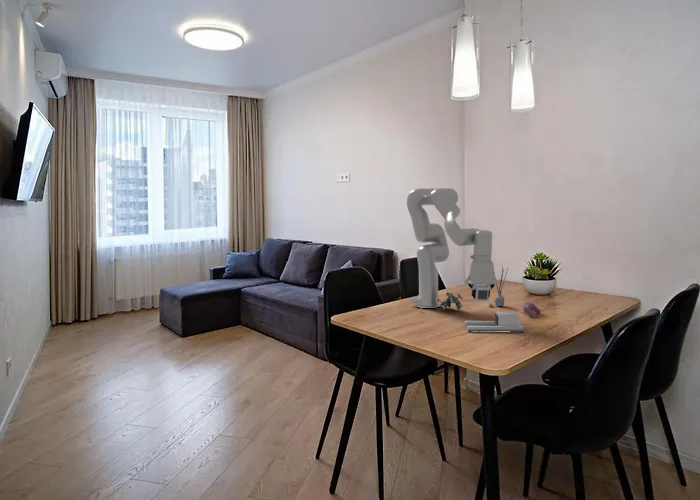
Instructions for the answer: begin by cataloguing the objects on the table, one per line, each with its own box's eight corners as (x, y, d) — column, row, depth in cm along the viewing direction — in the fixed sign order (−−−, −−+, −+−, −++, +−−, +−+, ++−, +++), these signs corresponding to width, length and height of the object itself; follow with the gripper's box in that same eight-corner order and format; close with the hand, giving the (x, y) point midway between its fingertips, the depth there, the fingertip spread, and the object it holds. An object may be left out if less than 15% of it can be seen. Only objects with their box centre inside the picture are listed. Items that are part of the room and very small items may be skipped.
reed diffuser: (504, 304, 229) (505, 265, 226) (512, 307, 222) (512, 267, 220) (486, 305, 226) (486, 266, 224) (493, 309, 220) (494, 268, 217)
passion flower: (458, 322, 218) (467, 305, 210) (437, 319, 216) (445, 302, 209) (454, 304, 226) (463, 288, 219) (434, 301, 225) (442, 285, 217)
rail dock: (468, 332, 183) (468, 315, 182) (464, 325, 193) (464, 309, 192) (523, 332, 181) (524, 315, 180) (517, 325, 191) (517, 309, 190)
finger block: (473, 296, 205) (473, 283, 204) (484, 296, 204) (485, 284, 203) (476, 301, 196) (477, 288, 196) (488, 301, 196) (488, 288, 195)
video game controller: (532, 315, 212) (526, 301, 213) (542, 312, 209) (535, 298, 211) (526, 320, 204) (519, 306, 206) (535, 317, 202) (528, 302, 203)
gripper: (464, 259, 195) (462, 299, 198) (504, 260, 193) (502, 300, 196) (461, 256, 202) (460, 295, 205) (500, 257, 201) (498, 296, 203)
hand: (480, 297), depth 200 cm, fingers closed on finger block, 5 cm apart
